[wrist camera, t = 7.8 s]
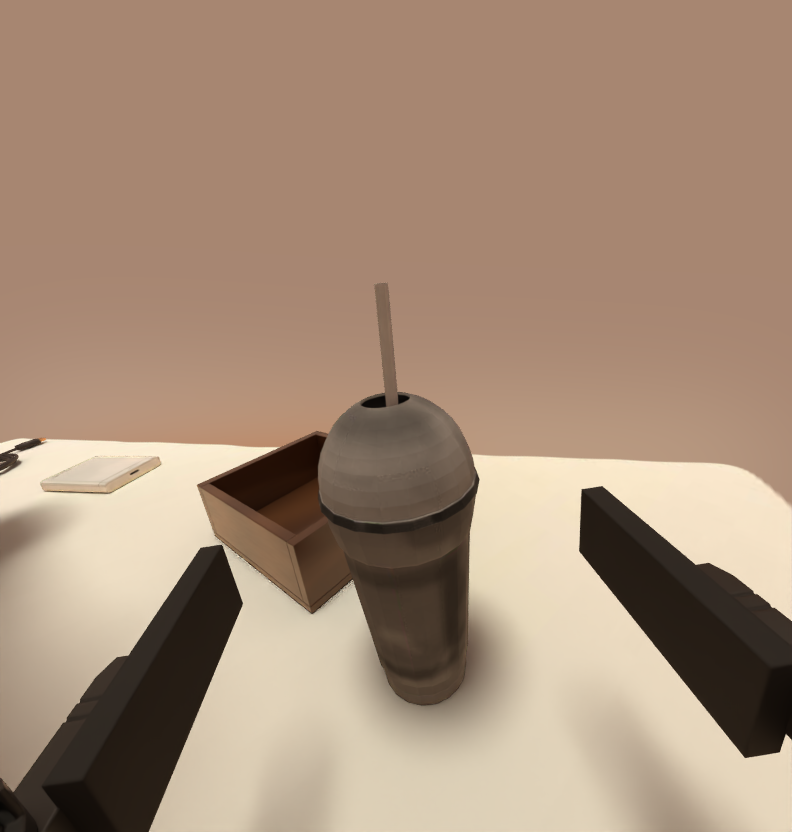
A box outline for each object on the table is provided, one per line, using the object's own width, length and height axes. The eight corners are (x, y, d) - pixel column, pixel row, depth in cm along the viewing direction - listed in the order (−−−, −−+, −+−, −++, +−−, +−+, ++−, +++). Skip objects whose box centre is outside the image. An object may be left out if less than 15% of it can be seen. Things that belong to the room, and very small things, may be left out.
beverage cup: (442, 590, 25) (405, 281, 18) (522, 682, 19) (509, 264, 12) (342, 644, 22) (257, 302, 16) (397, 774, 16) (292, 292, 9)
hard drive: (38, 481, 50) (103, 483, 46) (97, 455, 57) (158, 454, 54) (43, 492, 50) (108, 494, 47) (102, 464, 58) (162, 464, 54)
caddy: (215, 536, 35) (196, 484, 33) (326, 473, 44) (316, 430, 42) (312, 614, 24) (293, 546, 23) (430, 511, 34) (423, 457, 32)
